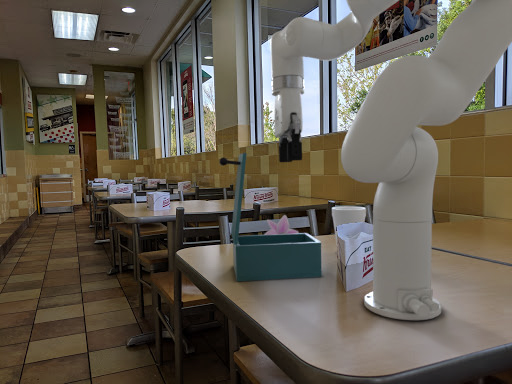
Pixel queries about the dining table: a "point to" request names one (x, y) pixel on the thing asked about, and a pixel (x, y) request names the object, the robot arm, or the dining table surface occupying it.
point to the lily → (280, 227)
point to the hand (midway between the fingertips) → (290, 161)
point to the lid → (237, 193)
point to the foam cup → (347, 215)
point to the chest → (276, 257)
